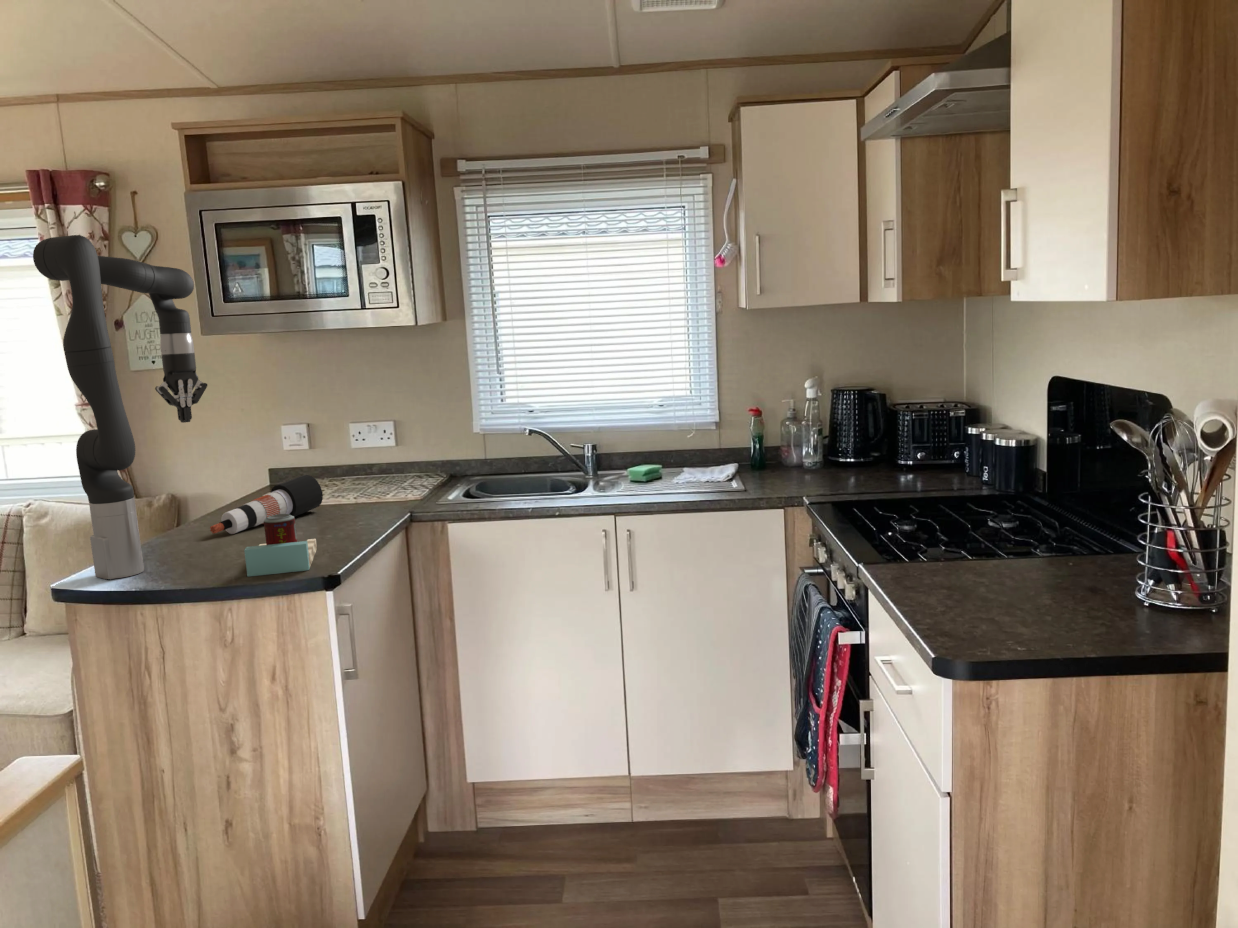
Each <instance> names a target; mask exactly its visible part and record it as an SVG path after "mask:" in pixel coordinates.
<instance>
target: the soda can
mask: <svg viewBox="0 0 1238 928" xmlns="http://www.w3.org/2000/svg"><path fill="white" fill-rule="evenodd" d="M263 526H264V527H263V529H264V534H265V537H264V538H265V544H266V545H271V544H281V543H291V542H298V535H297V528H296V527H297V526H296V518H295V517H294V516H292V515H290V514H276V515H272V516H269V517H267V518H266V519H265V520H264V524H263Z"/></svg>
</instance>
